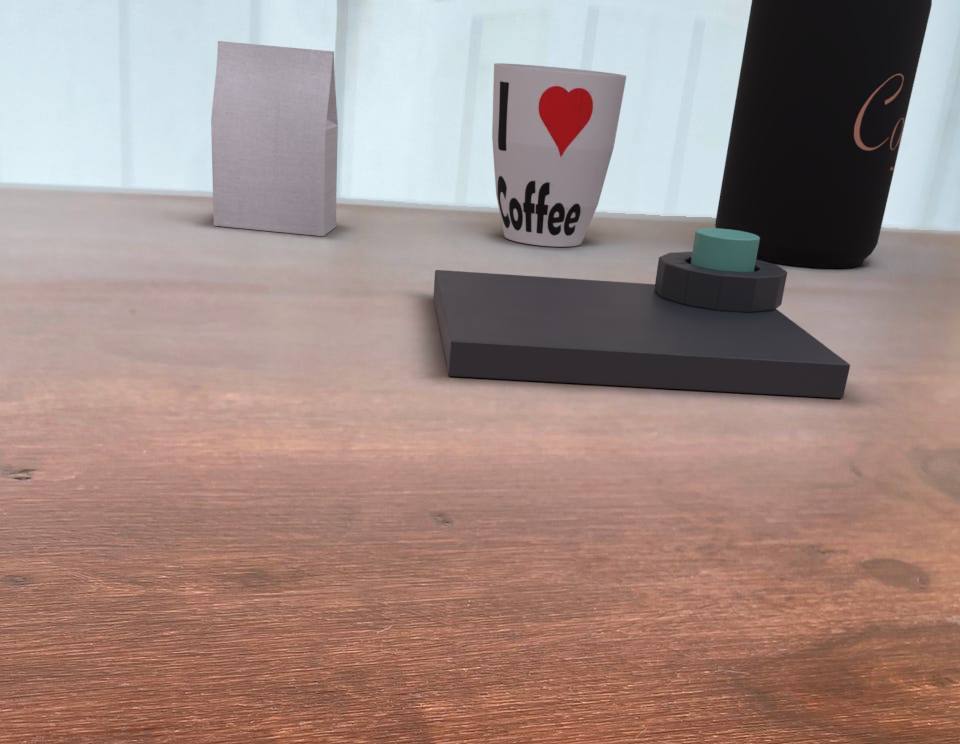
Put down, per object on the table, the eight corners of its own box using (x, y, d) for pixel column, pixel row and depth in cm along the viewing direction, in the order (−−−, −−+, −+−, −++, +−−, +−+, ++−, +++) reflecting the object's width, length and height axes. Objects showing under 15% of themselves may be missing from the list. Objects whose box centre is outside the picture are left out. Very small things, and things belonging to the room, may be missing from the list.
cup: (459, 237, 75) (471, 62, 70) (511, 224, 82) (526, 63, 77) (578, 256, 72) (599, 75, 68) (622, 241, 79) (644, 75, 74)
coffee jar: (850, 277, 73) (924, -59, 65) (688, 250, 78) (738, -69, 69) (889, 257, 82) (959, -43, 73) (741, 233, 86) (791, -53, 78)
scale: (753, 317, 61) (765, 256, 59) (853, 399, 48) (871, 324, 46) (432, 296, 59) (436, 233, 57) (448, 376, 46) (453, 298, 45)
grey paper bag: (323, 236, 72) (326, 52, 67) (213, 225, 72) (209, 41, 67) (335, 227, 75) (339, 50, 70) (230, 216, 75) (227, 40, 70)
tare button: (743, 267, 58) (749, 230, 57) (760, 280, 55) (768, 241, 54) (683, 263, 58) (689, 226, 57) (698, 276, 55) (704, 236, 54)
